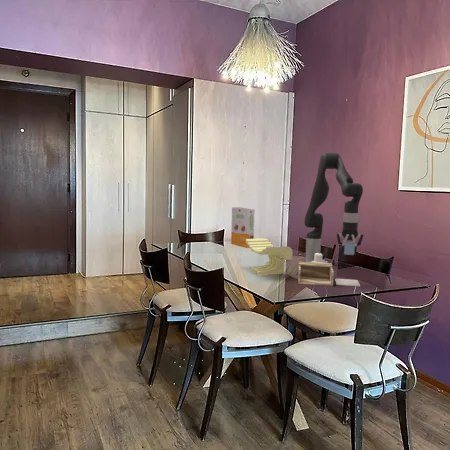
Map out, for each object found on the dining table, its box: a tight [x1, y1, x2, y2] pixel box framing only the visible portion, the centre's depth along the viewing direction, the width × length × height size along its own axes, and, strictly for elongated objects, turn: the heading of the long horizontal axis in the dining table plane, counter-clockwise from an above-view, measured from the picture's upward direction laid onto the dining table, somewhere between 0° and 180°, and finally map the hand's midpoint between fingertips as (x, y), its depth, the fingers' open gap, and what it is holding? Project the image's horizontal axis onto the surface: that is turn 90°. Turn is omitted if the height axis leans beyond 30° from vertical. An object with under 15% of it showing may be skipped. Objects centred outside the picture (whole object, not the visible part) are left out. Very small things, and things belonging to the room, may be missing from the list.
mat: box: [334, 278, 361, 287], centre depth 227 cm, size 12×12×1 cm
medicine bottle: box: [311, 252, 329, 263], centre depth 248 cm, size 7×7×12 cm
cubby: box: [297, 261, 335, 287], centre depth 230 cm, size 18×18×8 cm
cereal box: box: [230, 206, 255, 249], centre depth 338 cm, size 22×6×30 cm, turn 32°
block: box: [343, 241, 355, 256], centre depth 225 cm, size 5×5×6 cm
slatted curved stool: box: [246, 237, 293, 276], centre depth 247 cm, size 30×16×18 cm, turn 19°
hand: (348, 252), depth 225 cm, fingers closed on block, 5 cm apart
